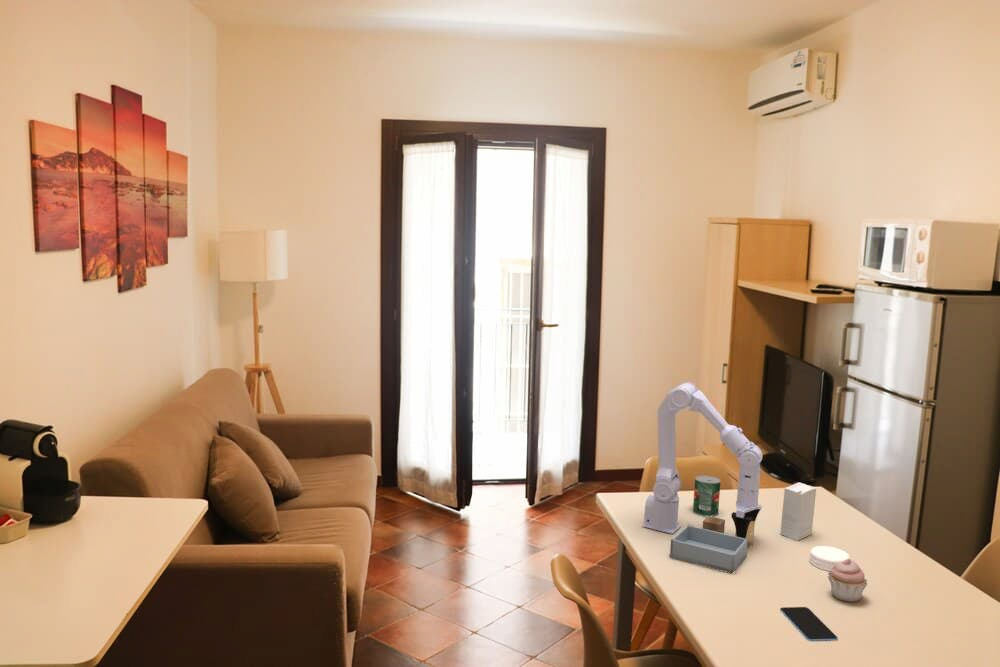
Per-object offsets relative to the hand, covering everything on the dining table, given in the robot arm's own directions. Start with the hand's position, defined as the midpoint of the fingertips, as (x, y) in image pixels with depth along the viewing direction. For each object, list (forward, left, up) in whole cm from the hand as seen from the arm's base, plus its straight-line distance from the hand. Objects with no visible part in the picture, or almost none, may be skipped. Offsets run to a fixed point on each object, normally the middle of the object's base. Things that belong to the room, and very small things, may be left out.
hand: (744, 534), depth 228 cm
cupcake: (+30, -18, -3) cm, 35 cm away
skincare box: (+11, +16, -3) cm, 20 cm away
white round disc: (+23, 0, -3) cm, 23 cm away
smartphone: (+25, -38, -3) cm, 46 cm away
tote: (-6, -15, -3) cm, 16 cm away
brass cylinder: (0, 0, -3) cm, 3 cm away
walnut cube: (-9, 0, -3) cm, 10 cm away
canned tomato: (-17, +18, -3) cm, 25 cm away
